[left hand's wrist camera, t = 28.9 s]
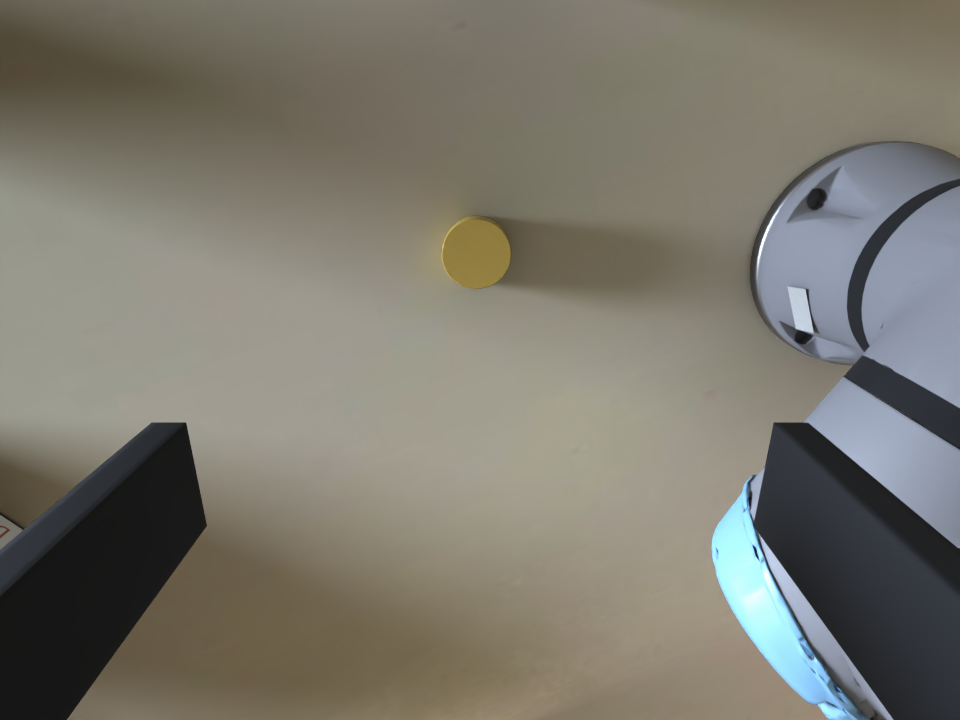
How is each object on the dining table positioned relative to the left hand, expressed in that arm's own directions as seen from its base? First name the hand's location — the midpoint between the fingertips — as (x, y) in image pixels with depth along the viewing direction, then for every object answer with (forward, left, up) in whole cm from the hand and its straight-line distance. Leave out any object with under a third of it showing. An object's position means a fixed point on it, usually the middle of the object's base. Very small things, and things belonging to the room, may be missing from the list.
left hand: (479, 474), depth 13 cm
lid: (0, 0, -28) cm, 28 cm away
